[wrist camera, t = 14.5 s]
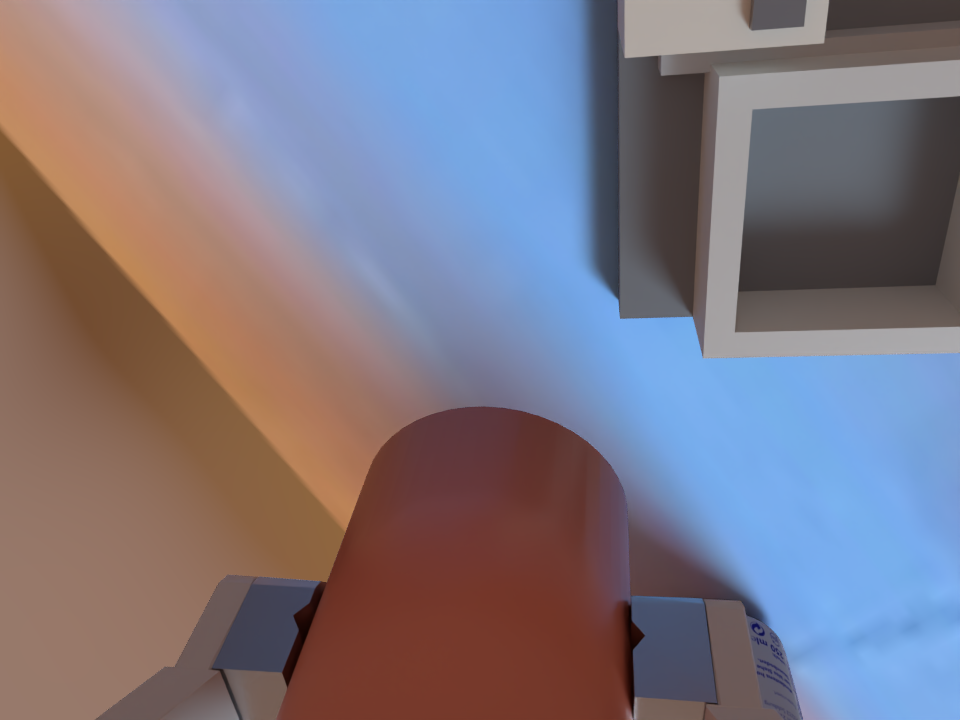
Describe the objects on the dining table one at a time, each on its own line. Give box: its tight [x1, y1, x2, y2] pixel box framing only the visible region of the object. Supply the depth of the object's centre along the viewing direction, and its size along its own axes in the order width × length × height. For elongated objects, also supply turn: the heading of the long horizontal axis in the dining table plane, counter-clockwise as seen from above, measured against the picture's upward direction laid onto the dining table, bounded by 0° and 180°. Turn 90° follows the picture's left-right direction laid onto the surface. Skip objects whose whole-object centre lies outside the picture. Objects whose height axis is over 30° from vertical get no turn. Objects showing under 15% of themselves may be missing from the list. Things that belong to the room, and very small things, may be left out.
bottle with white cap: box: [276, 407, 633, 720], centre depth 11 cm, size 4×4×7 cm
